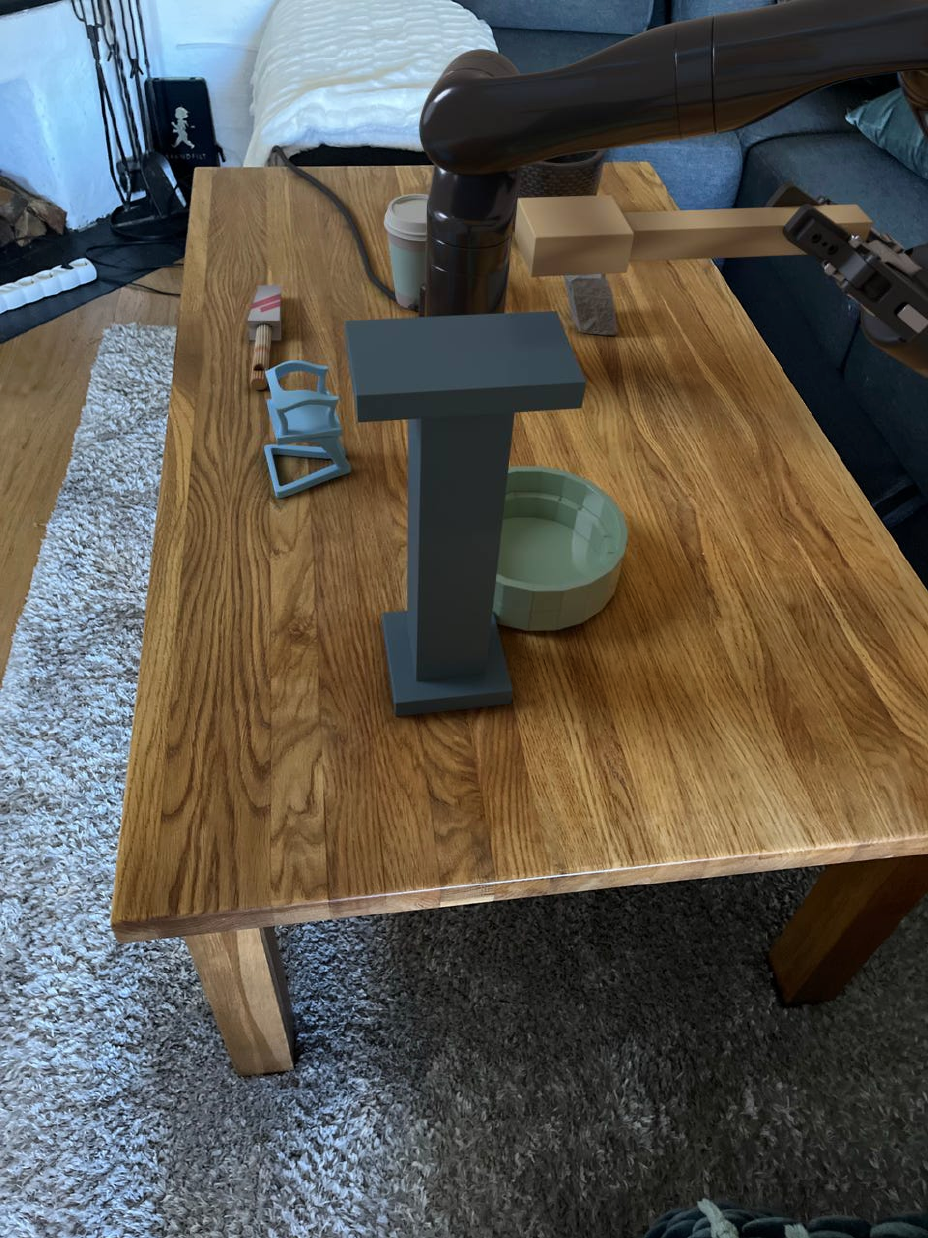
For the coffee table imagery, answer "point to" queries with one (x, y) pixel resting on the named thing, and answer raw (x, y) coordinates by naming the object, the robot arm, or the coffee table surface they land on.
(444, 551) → the lectern stand
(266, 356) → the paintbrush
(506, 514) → the bowl
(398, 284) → the coffee cup
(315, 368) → the chair
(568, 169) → the planter
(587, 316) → the mineral specimen
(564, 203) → the wooden mallet
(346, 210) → the robot arm
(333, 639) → the coffee table surface
